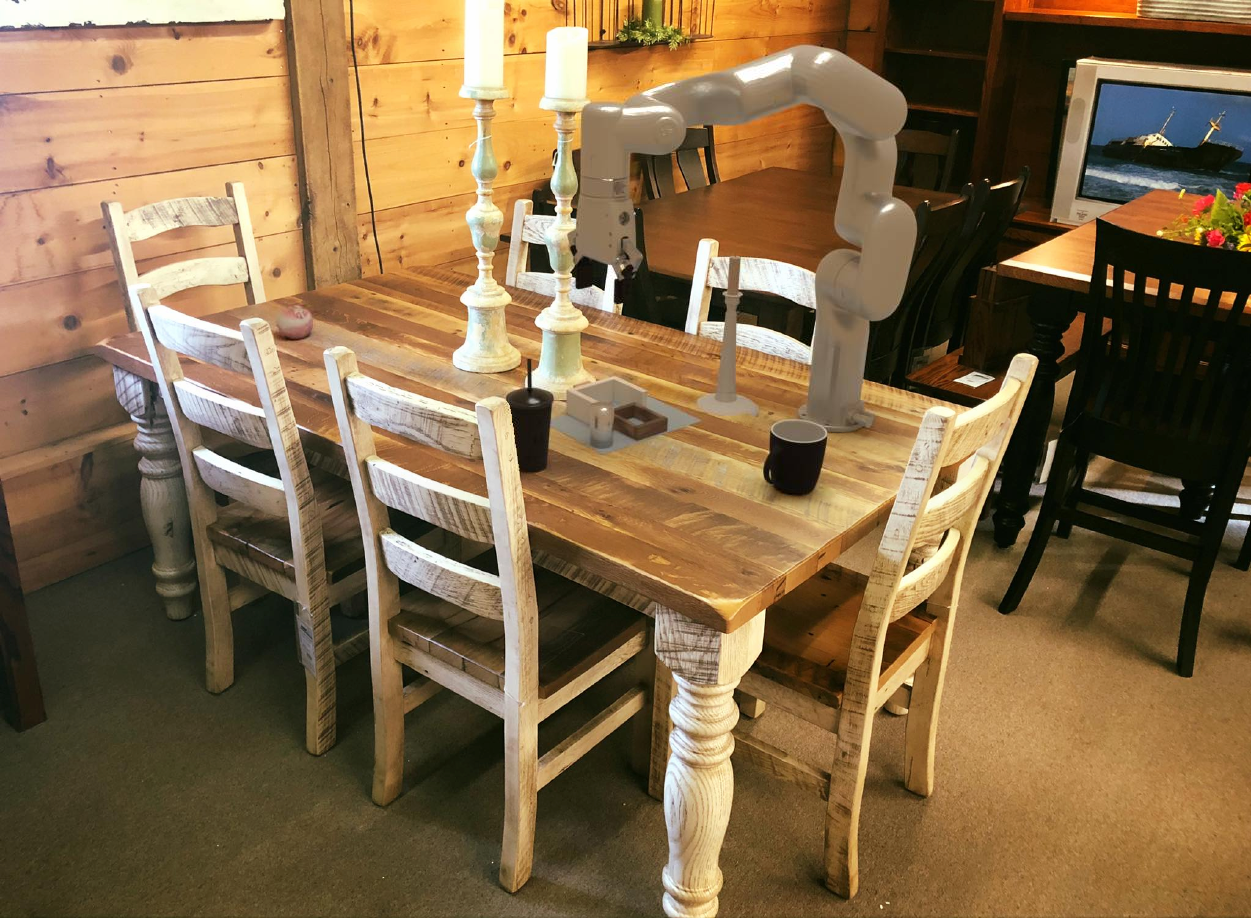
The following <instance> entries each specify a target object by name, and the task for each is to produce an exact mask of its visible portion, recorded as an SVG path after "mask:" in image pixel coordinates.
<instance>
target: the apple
mask: <svg viewBox="0 0 1251 918" xmlns="http://www.w3.org/2000/svg"><path fill="white" fill-rule="evenodd" d="M276 327H277V329H278V331H279V332H280V333H281V334H280V336H281V337H282V339H283V340H284V341H286V340H287V339H291V340H301V339H304V338H307V337H310V334H311V333H312V331H313V329H314V317H313V315H312V313H311V312H310V310H309V309H307V308H306V307H304V306H302V305H298V304H294V305H289V306H287V307H285V308H284V309H282V310H281V312H279V313H278V316H277V318H276Z"/></svg>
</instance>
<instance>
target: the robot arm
mask: <svg viewBox="0 0 1251 918" xmlns="http://www.w3.org/2000/svg"><path fill="white" fill-rule="evenodd" d="M803 104H805V105H809V106H813V107H817V108H819V109H821V110H822V111H823V112H824V115H825V117H826V119H827V121H828V122H829V123H830V124H831V125H832V126H833V127H834V128H835V130H836V131H837V132H838V134H839V136H840V138H841V141H842V143H843V147H844V163H843V164H844V166H843V173H842V178H841V183H840V187H839V188H840V189H839V193H838V198H837V203H836V208H835V212H834V213H835V214H834V229H835V231H836V233H837V235H838V236H839V237H840V238H841V239H843V240H844V241H846V242H847V243H849V244H852V245H854V246H856V247H858V248H860V249H861V252H860V251H857V250H855V249H854V250H853V249H848V248H838V249H835V250H832V251H830V252H828V253H827V254H826V255H824V257H823V258H822V259H821V260H820V262H819V264H818V265H817V269H816V272H815V277H814V292H815V327H814V336H813V343H812V344H813V345H812V355H811V362H810V363H811V364H810V371H809V372H810V373H809V380H808V381H809V382H808V391H807V400H806V401H807V402H806V403H804V404H802V405H801V406H799V408H798V409H797V418H798V420H806V421H811V422H814V423H817V424H819V425H821V426H822V427H824V428H825V429H826V431H827V433H828V432H829V433H830V432H831V433H849V432H854V431H857V430H860V429H862V428H867V429H868V428H870V427H871V426H872V424H873V421H874V419H875V417H876V416H875V415H876V414H875V413H873V412H871V411H867V410H866V409H865V404H866V401H865V400H862V399H861V397H862V391H863V390H862V389H863V383H864V382H863V381H864V373H865V366H866V359H867V358H866V357H867V352H868V351H867V350H868V342H869V335H870V321H871V322H878V321H882V320H885V319H887V318H888V317H890V316H891V315H892V314H893V313H894V312H895V311H896V310H897V308H898V307H899V305H900V303H901V300H902V298H903V295H904V292H905V288H906V285H907V281H908V276H909V272H910V268H911V263H912V259H913V255H914V252H915V251H914V250H915V246H916V241H917V233H918V224H917V219H916V216H915V213H914V211H913V209H912V208H911V207H910V205H909V204H907V203H906V202H905V201H903V200H902V199H899V198H898V197H894V196H893V188H894V182H895V175H896V169H897V162H898V148H897V147H898V146H897V142H896V135H897V134H898V133H899V132H900V131H901V130H902V128H903V127H904V125H905V123H906V121H907V116H908V104H907V100H906V98H905V96H904V94H903V92H902V91H901V90H900V89H899V88H898V87H896V86H895V85H894V84H892V83H891V82H889V81H888V80H886V79H884V78H883V77H881V76H879V75H878V74H876V73H875V72H873V71H871V70H870V69H868V68H867V67H865V66H863V65H862V64H860V62H857V61H856V60H854V59H853V58H851V57H849V56H848V55H847V54H844V53H842V52H841V51H839V50H836V49H833V48H829V47H822V46H817V45H810V44H801V45H800V44H799V45H796V46H793V47H788V48H786V49H784V50H781V51H777V52H774V53H772V54H771V53H770V54H769V55H766V56H763V57H760V58H757V59H755V60H751V61H749V62H746V63H743V64H740V65H736V66H733V67H730V68H727V69H723V70H719V71H714V72H713V71H712V72H709V73H705V74H702V75H698V76H693V77H689V78H683V79H680V80H676V81H672V82H669V83H665V84H662V85H659V86H656V87H652V88H650V89H647V90H645V91H641V92H640V93H636V94H633V95H632V96H630V97H629V98H627V99H626V100H624V102H618V101H617V102H615V101H593V102H588V103H586V104H585V105H584V106H583V107H582V110H581V112H580V113H581V114H580V115H581V116H580V183H579V184H580V187H579V188H580V190H579V191H580V192H579V196H578V201H577V209H576V218H575V229H572V230H571V231H569V232H568V233H567V235H566V236H567V240H568V243H569V250H570V253H571V255H572V257H573V258H572V262H573V265H575V266H574V267H575V269H574V271H575V272H574V273H575V275H574V276H575V277H574V278H575V279H574V283H575V284H574V285H575V289H576V290H579V291H580V290H583V289H589V288H591V287H593V285H594V262H593V261H595V262H596V261H597V262H599V263H602V264H606V265H608V266H611V267H612V269H613V271H614V274H615V275H616V278H614V280H613V303H614V304H616V305H622V304H626V303H629V302H631V301H632V297H633V295H632V293H633V292H632V291H633V287H632V286H633V278H635V276H636V274H637V272H639V270H640V265H641V263H642V261H643V259H644V255H643V253H642V252H641V251H640V250H639V249H638V248H637V238H636V237H637V235H636V234H637V233H636V231H637V230H636V219H635V217H636V215H635V210H634V204H633V199H632V198H631V197H630V192H631V187H630V180H631V177H630V175H631V174H630V172H631V169H630V168H631V153H636V154H637V153H638V154H645V155H654V156H655V155H656V156H663V155H667V154H671V153H672V152H674V151H676V150H677V149H678V148H679V147H680V146H681V145H682V144H683V142H684V140H685V138H686V134H687V128H693V127H697V126H698V127H699V126H723V127H727V126H739V125H746V124H749V123H751V122H753V121H756V120H760V119H761V118H765V117H768V116H770V115H773V114H776V113H779V112H782V111H784V110H788V109H790V108H793V107H796V106H798V105H803ZM592 260H593V261H592ZM590 261H592V262H590ZM621 265H623V267H624V268H623V269H622V267H621Z"/></svg>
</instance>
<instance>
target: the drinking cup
mask: <svg viewBox="0 0 1251 918" xmlns="http://www.w3.org/2000/svg"><path fill="white" fill-rule="evenodd" d="M526 367H527V368H526V375H527V376H526V377H527V383H526V384H527V387H520V388H519V389H515V390H511V391H509V392H508V393H507V394H506V396H505V402H506V401H507V402H508V403H509V405H510V409H511V414H512V423H513V427H514V435H515V444H516V448H517V456H518V464H519V468H520V471H519V472H522V473H527V474H530V473H531V474H535V473H539V472H542V471H544V470H546V469H547V466H548V455H549V447H550V446H549V444H550V443H549V442H550V436H551V435H550V434H551V433H550V431H551V426H550V423H551V419H552V411H553V409H552V408H553V403H554V401H555V396H554V394H553V393H552V391H551V392H550V391H549V390H545V389H542V388H538V387H534V386H533V381H532V380H533V376H532V372H533V371H532V369H533V368H532V367H533V366H532V358H527V359H526ZM507 402H506V403H507Z"/></svg>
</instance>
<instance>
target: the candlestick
mask: <svg viewBox="0 0 1251 918" xmlns="http://www.w3.org/2000/svg"><path fill="white" fill-rule="evenodd" d="M741 260H742V258H741V256H739V255H736V253H735V255H731V256H729V259H728V261H729V262H728V273H727V274H728V275H727V289H726V291H723V292H722V295H723V296H724V297H725V299H724V303H725V305H726V312H725V313H724V314H725V317H724V318H725V319H724V327H723V335H722V345H721V351H720V359H719V368H718V377H717V384H716V391H715V392H714V393H708V394H704V395H702V396H700V397H699V398H698V399H696V405H697V406H698V408H699V409H701V410H702V411H704V412H706V413H710V414H714V415H720V416H738V415H744V414H746V413H747V414H749V415H752V416H754V417H756V418H758V417H759V414H760V410H759V409H760V408H759V406H758V405H757V403H755V402H754V401H752V400H751V399H749V398H748V397H745V396H743V395H740V394H737V393H736V389H737V388H736V377H737V376H736V375H737V373H736V372H737V369H736V368H737V367H736V366H737V320H738V319H737V318H738V313H737V307H738V305H739V304H740V302H741V301H740V298H741V297H742V296H743V293H742V292H741V291H739V288H740V287H739V286H740V275H741V274H740V272H741V262H742V261H741Z"/></svg>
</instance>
